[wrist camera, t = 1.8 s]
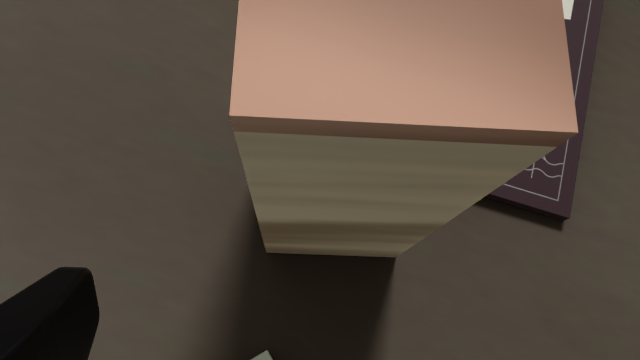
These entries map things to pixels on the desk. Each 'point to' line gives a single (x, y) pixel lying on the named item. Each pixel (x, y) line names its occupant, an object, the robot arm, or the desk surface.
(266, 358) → the sage mat
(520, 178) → the chocolate bar
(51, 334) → the robot arm
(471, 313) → the desk surface
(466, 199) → the maple block
